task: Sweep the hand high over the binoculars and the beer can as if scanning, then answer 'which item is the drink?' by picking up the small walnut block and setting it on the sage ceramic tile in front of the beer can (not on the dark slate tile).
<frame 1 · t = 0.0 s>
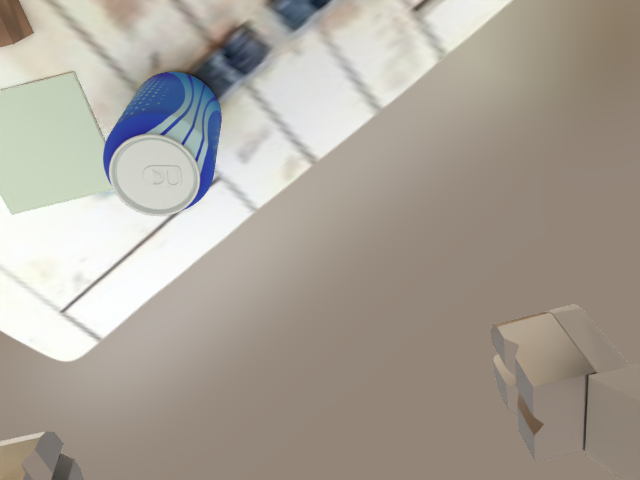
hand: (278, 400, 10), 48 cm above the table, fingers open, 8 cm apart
sage tile: (42, 145, 56), on the table
beer can: (179, 111, 56), on the table
walnut block: (1, 15, 50), on the table
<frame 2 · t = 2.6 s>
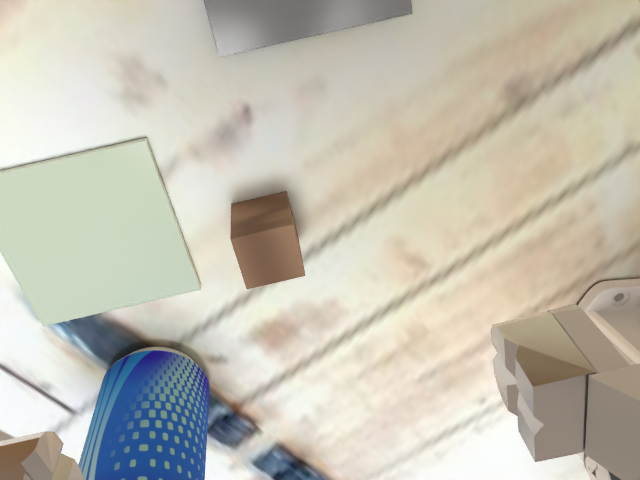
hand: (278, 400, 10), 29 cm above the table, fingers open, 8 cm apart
sage tile: (92, 236, 39), on the table
beer can: (158, 376, 47), on the table
walnut block: (265, 221, 41), on the table
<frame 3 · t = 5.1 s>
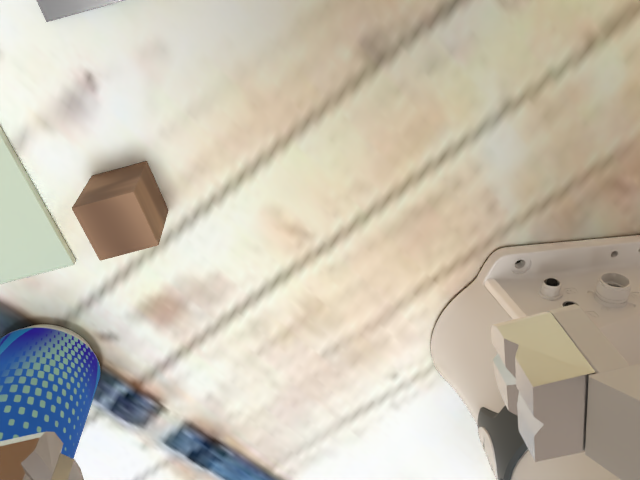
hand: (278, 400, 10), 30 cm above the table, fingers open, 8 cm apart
beer can: (51, 355, 47), on the table
walnut block: (131, 193, 40), on the table
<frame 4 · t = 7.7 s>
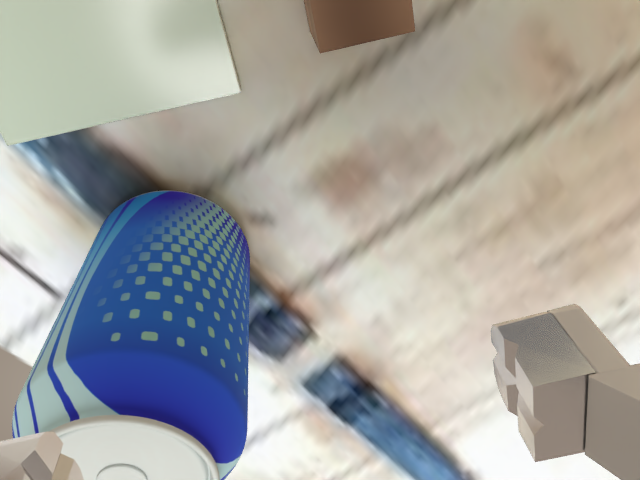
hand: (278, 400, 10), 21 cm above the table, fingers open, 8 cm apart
beer can: (177, 244, 33), on the table
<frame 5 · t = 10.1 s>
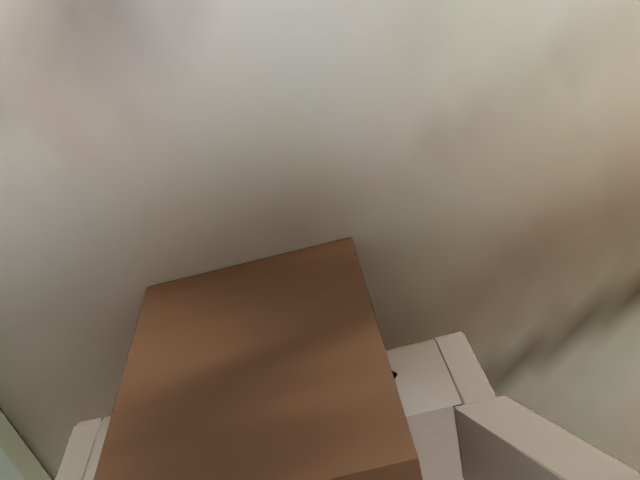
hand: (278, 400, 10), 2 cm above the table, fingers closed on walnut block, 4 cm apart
walnut block: (275, 340, 12), on the table, touching gripper
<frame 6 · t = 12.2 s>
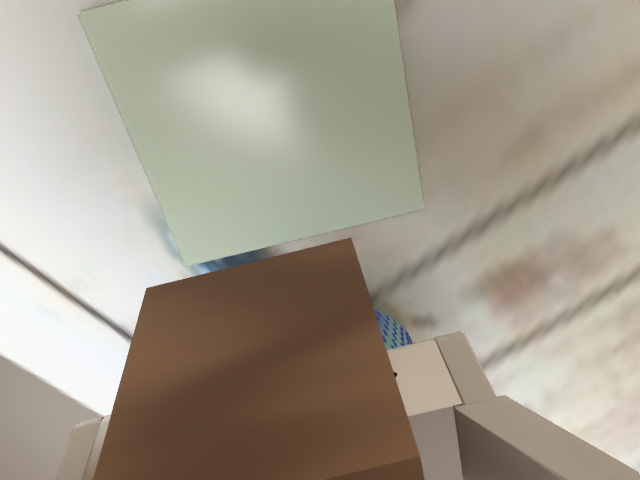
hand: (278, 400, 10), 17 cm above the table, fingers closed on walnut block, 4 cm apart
sage tile: (271, 118, 25), on the table
beer can: (336, 346, 32), on the table
walnut block: (275, 341, 12), point 15 cm above the table, touching gripper
when the fingers open (4 cm above the table, at t = 14.5 s): walnut block drops 1 cm, resting on sage tile.
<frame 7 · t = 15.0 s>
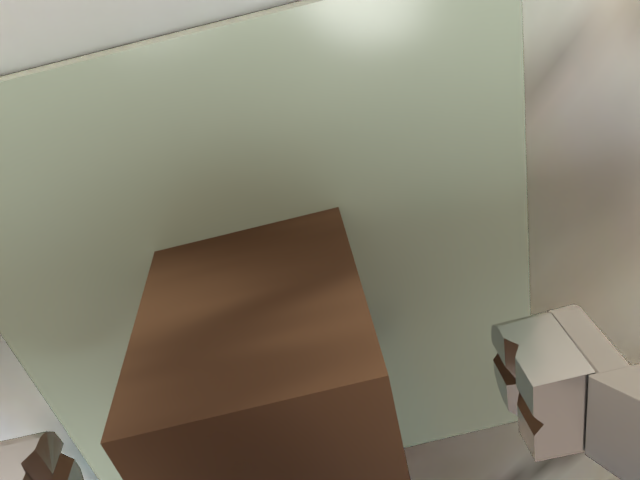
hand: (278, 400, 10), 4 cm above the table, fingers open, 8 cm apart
sage tile: (271, 287, 13), on the table
walnut block: (270, 302, 13), point 1 cm above the table, touching sage tile
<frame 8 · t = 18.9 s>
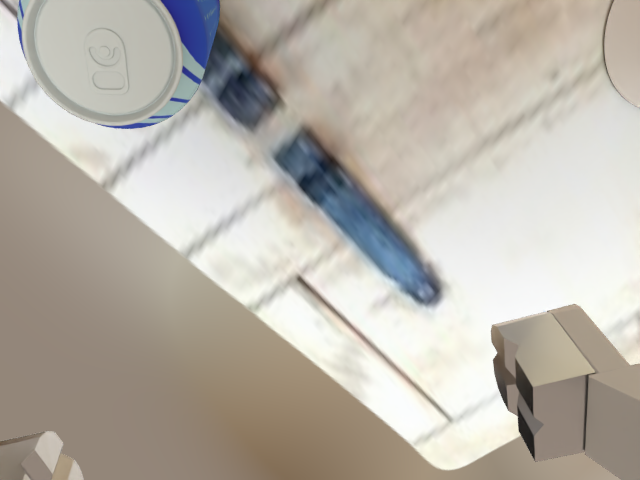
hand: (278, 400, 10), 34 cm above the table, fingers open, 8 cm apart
beer can: (157, 0, 38), on the table
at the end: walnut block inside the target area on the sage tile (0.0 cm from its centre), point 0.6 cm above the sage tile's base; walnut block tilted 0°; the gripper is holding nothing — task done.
